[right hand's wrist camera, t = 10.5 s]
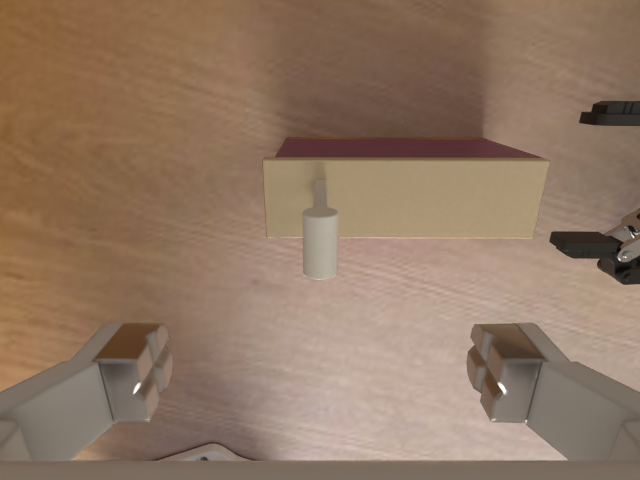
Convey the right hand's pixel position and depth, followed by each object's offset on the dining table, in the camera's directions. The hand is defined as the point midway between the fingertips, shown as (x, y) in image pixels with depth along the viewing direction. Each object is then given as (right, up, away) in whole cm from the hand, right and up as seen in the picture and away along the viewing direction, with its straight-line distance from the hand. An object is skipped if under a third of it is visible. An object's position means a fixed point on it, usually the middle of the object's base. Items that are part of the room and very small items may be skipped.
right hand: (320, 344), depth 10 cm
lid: (+5, +5, +14) cm, 16 cm away
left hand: (+17, +7, +16) cm, 24 cm away
